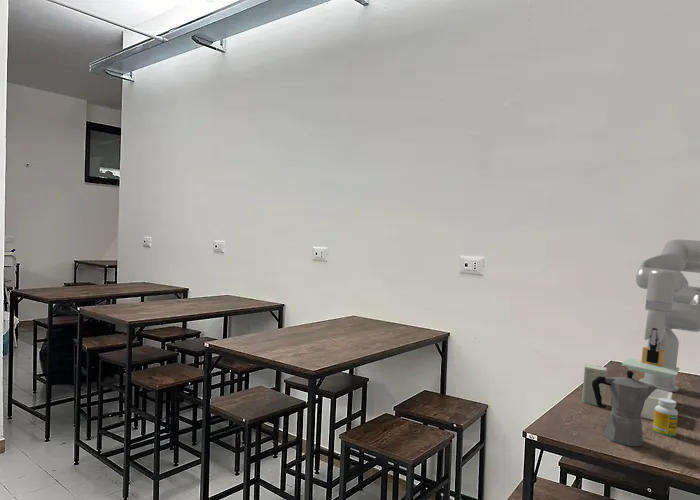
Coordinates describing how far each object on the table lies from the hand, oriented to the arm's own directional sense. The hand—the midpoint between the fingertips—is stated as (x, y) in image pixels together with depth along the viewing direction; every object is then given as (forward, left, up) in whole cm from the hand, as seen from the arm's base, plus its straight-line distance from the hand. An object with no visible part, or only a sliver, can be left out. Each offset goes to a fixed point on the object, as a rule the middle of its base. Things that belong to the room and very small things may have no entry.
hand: (652, 361), depth 167 cm
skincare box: (+24, -13, -13) cm, 30 cm away
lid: (+4, 0, -2) cm, 5 cm away
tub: (+20, 0, -13) cm, 24 cm away
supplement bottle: (+35, +7, -13) cm, 38 cm away
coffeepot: (+48, -2, -13) cm, 50 cm away
